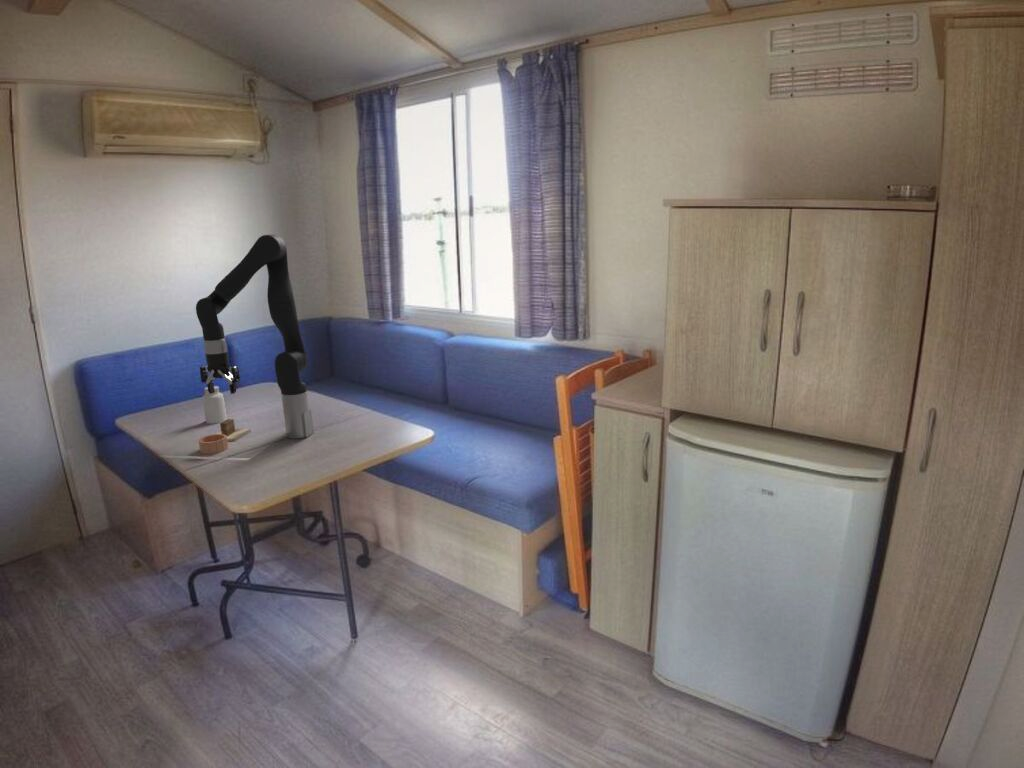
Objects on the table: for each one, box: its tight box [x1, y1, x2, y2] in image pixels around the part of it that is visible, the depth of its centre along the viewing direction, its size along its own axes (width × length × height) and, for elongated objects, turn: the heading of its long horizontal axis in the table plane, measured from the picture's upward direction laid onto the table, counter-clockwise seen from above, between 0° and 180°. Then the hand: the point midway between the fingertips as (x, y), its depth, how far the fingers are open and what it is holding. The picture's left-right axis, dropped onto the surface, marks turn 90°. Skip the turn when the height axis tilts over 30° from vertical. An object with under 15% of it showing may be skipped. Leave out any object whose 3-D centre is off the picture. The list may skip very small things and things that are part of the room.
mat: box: [228, 430, 252, 443], centre depth 235 cm, size 12×12×1 cm
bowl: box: [198, 433, 229, 455], centre depth 221 cm, size 9×9×5 cm
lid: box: [214, 418, 251, 442], centre depth 234 cm, size 11×11×6 cm
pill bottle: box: [201, 385, 228, 425], centre depth 252 cm, size 8×8×15 cm
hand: (222, 393), depth 231 cm, fingers open, 8 cm apart
